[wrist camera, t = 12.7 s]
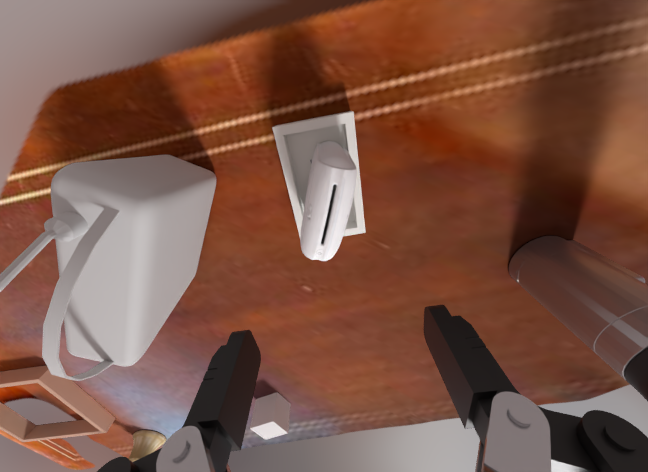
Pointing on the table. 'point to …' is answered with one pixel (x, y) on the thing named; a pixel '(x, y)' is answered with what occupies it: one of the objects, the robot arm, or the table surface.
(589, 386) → the table surface
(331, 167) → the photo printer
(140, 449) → the hand bell
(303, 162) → the dock
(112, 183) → the radio
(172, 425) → the table surface
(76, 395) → the brown square frame
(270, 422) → the light grey cube
